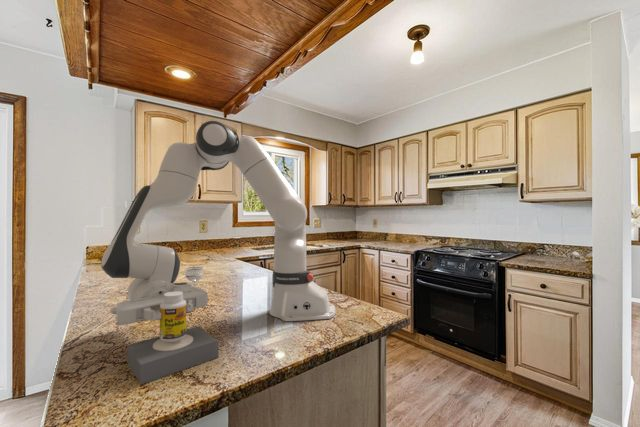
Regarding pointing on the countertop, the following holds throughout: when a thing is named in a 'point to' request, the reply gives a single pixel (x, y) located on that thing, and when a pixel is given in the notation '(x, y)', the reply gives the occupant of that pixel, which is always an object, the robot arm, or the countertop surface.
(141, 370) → the block
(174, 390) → the countertop surface
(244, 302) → the countertop surface
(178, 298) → the supplement bottle
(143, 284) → the robot arm
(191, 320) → the countertop surface
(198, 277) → the wineglass
